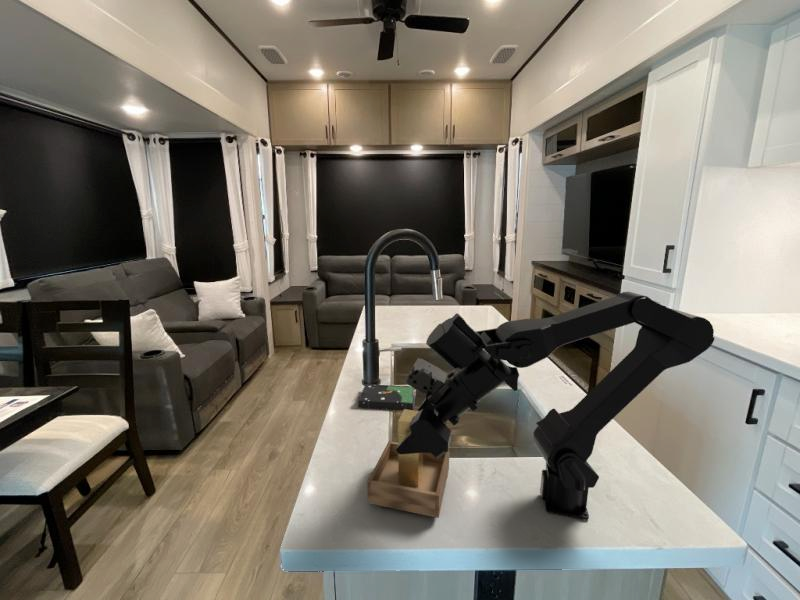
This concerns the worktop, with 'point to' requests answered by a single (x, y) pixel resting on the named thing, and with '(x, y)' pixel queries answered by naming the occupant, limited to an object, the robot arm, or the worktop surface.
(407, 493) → the wooden storage tray
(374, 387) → the disk drive
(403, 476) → the brass bar
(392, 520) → the worktop surface
